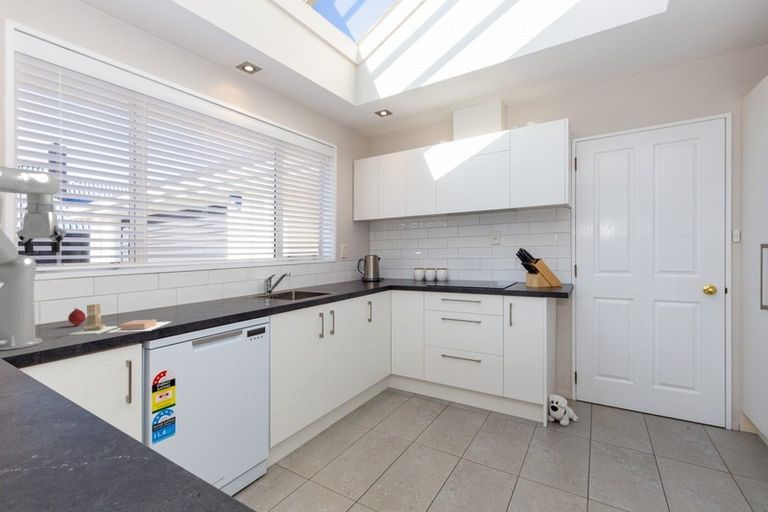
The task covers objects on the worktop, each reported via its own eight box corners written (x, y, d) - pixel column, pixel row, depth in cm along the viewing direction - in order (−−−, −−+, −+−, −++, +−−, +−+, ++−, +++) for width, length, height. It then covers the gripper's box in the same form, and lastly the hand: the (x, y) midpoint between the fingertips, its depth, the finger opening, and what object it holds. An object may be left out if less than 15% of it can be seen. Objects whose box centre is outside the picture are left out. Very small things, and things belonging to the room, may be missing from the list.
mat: (150, 332, 142) (150, 330, 142) (106, 334, 140) (106, 332, 140) (172, 323, 160) (172, 321, 160) (133, 324, 158) (133, 323, 158)
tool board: (97, 335, 138) (97, 332, 138) (69, 337, 137) (69, 333, 137) (117, 329, 150) (117, 326, 150) (91, 330, 149) (91, 327, 149)
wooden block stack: (99, 330, 142) (98, 305, 142) (83, 330, 142) (82, 305, 142) (105, 328, 145) (104, 303, 145) (89, 329, 145) (88, 304, 145)
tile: (156, 324, 153) (144, 329, 144) (134, 325, 152) (120, 330, 143) (156, 319, 153) (144, 323, 144) (133, 320, 152) (120, 324, 143)
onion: (88, 324, 162) (87, 306, 162) (81, 326, 157) (80, 308, 156) (73, 325, 161) (72, 307, 161) (65, 327, 155) (64, 309, 155)
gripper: (8, 208, 139) (9, 253, 139) (56, 208, 141) (58, 252, 141) (25, 210, 146) (27, 253, 147) (71, 210, 148) (73, 252, 148)
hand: (42, 252), depth 144 cm, fingers open, 9 cm apart
